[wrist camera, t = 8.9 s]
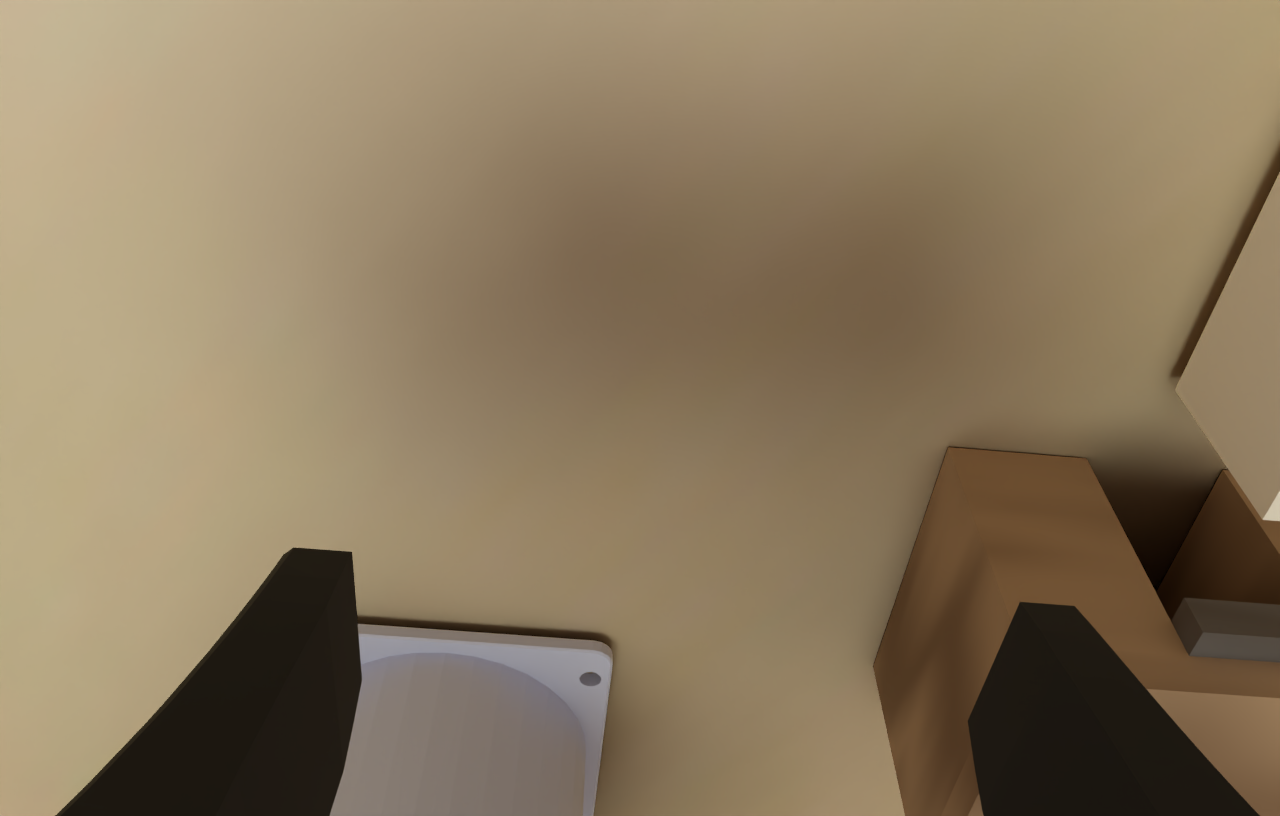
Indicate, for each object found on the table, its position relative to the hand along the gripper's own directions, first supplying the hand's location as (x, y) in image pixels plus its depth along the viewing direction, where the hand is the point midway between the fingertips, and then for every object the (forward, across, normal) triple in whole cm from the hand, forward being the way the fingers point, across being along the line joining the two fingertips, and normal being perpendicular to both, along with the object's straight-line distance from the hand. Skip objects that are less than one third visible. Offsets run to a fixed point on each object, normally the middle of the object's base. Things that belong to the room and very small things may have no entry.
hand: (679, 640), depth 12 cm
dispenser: (+10, -11, +8) cm, 17 cm away
